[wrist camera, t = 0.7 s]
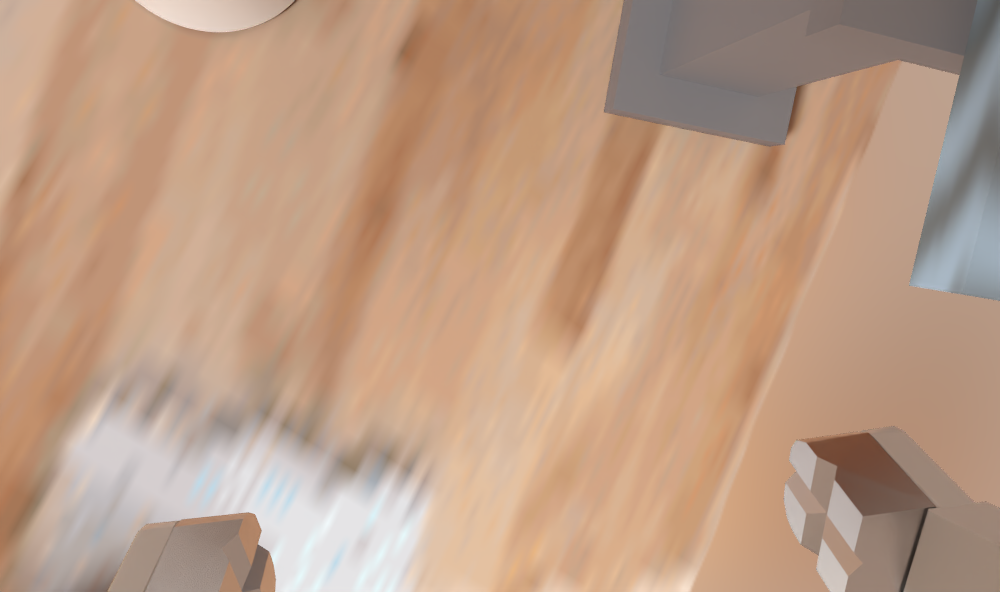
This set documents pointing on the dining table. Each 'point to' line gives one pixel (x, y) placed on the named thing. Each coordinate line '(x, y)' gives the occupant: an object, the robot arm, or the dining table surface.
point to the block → (968, 176)
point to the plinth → (766, 56)
